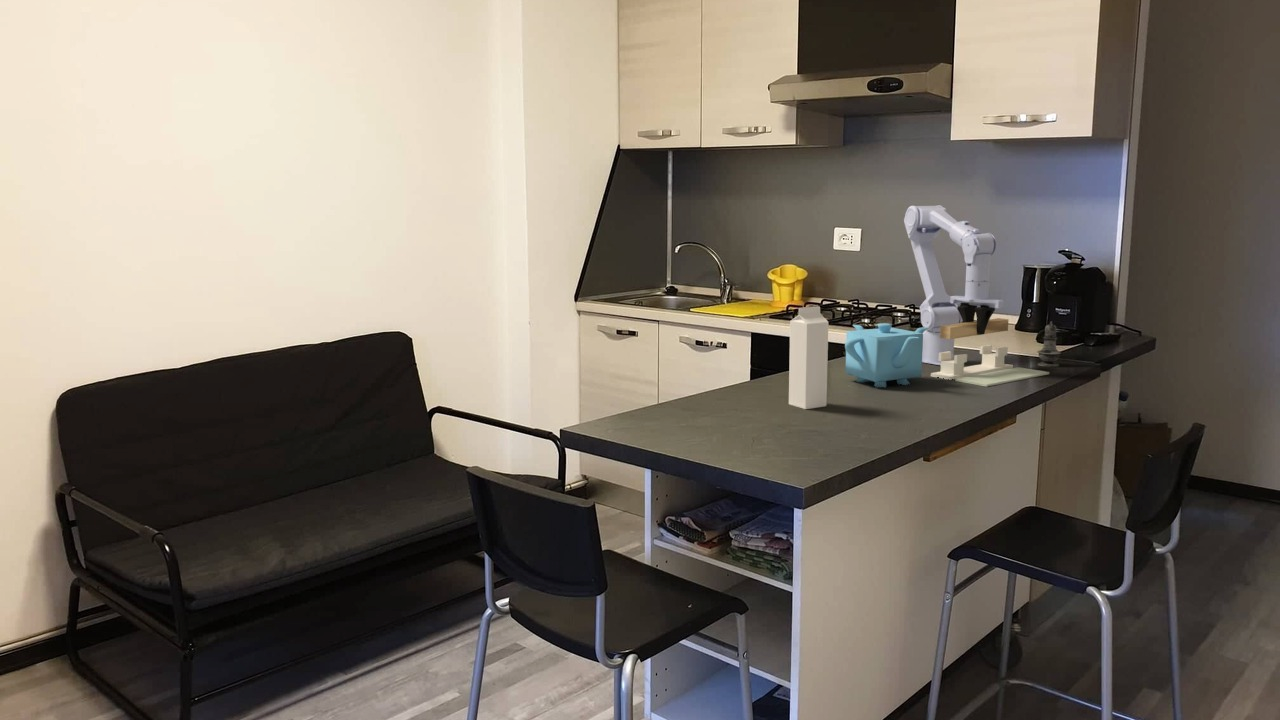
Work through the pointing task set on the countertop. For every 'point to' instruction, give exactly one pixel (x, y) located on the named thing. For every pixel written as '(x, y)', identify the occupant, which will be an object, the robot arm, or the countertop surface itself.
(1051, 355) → the grey chess piece
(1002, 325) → the oak bar
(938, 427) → the countertop surface
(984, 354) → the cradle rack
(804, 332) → the milk
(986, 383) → the sage mat
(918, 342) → the teakettle
